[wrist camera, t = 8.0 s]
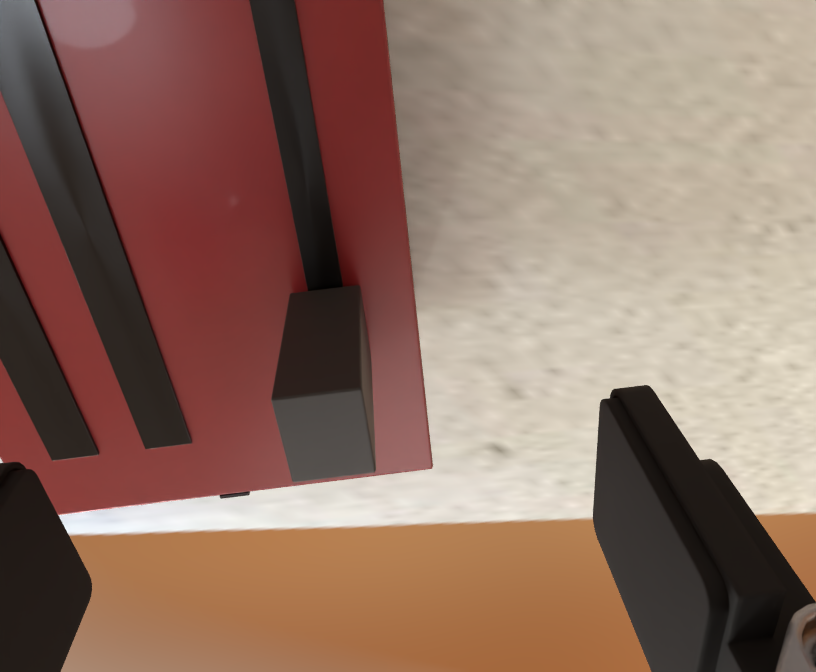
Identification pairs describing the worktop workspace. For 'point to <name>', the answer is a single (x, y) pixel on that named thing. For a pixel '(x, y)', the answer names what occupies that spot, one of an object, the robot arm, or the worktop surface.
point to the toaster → (191, 237)
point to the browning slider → (325, 386)
